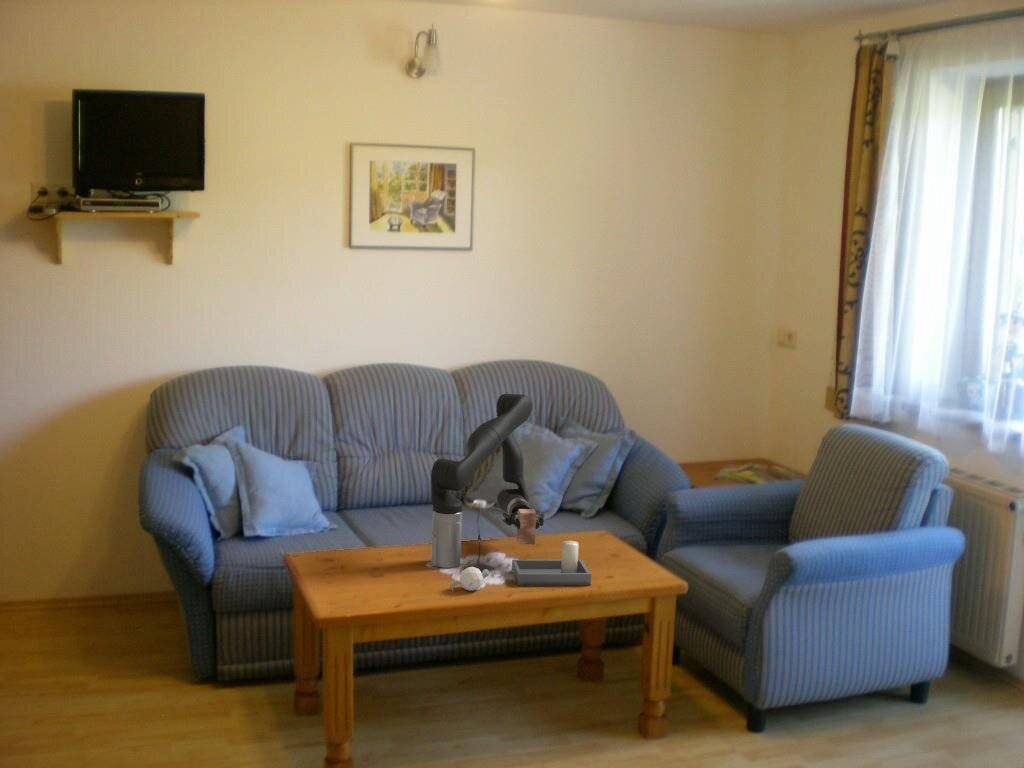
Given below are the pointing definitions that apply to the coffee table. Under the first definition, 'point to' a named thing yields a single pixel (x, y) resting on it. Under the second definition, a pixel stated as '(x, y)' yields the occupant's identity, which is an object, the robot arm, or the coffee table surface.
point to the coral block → (526, 526)
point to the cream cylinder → (569, 557)
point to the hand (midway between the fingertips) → (528, 525)
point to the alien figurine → (471, 578)
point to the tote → (548, 573)
